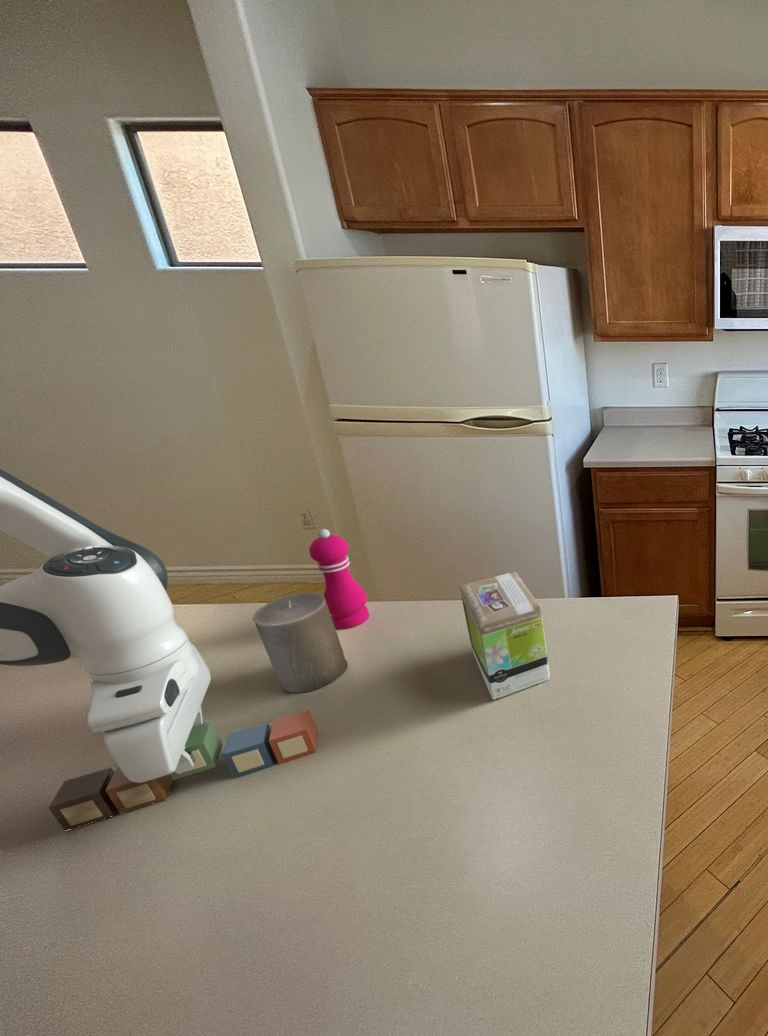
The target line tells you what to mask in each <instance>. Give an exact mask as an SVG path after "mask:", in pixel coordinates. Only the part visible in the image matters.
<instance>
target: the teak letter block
mask: <svg viewBox="0 0 768 1036" xmlns="http://www.w3.org/2000/svg"><path fill="white" fill-rule="evenodd" d="M174 781H175V780H173V779H172V777H171V775H170V774H168V775H165V776H162V777H159V778H156V779H152V780H149V781H146V782H142V783H137V782H132V781H130V780H129V779H128V778H127V777H126V776H125V775H124V773H123V772H122V771H121V769H120V768H119V767H118V766H116V769H115V771H114V774H113V776H112V778H111V780H110V782H109V784H108V786H107V788H106V790H105V791H106V792H107V794H108V795H109V797H110V798H111V800H112V802H113V803H114V805H115V806H116V808H117V811H118V813H119V814H120V815H123V814H122V813H124V812H127V811H130V812H132V811H131V810H133V811H136V810H139V809H138V808H140V809H142V808H141V807H143V808H145V807H144V806H146V807H148V806H147V805H149V806H151V805H150V804H152V803H155V804H158V803H161V802H163V801H162V800H164V801H166V800H167V799H166V797H167V798H168V796H169V794H168V792H169V793H170V791H169V790H171V789H170V788H172V786H173V783H174ZM167 795H168V796H167ZM165 799H166V800H165ZM160 801H161V802H160ZM157 802H158V803H157ZM152 805H153V804H152ZM135 809H136V810H135ZM127 813H128V812H127ZM124 814H125V813H124Z"/></svg>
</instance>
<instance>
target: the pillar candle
mask: <svg viewBox="0 0 768 1036" xmlns="http://www.w3.org/2000/svg"><path fill="white" fill-rule="evenodd" d="M323 596H324V595H323V594H320V593H318V592H311V591H310V592H297V593H294V594H289V595H285V596H282V597H280V598H277V599H274V600H272V601H270V602H268V603H266V604H264V605H263V606H260V607H259V608H258V609H257V610H255V612H254V614H253V618H252V621H253V623H254V625H255V627H256V630H257V632H258V634H259V637H260V639H261V642H262V644H263V646H264V649H265V651H266V654H267V656H268V659H269V661H270V664H271V667H272V669H273V672H274V673H275V675H276V678H277V680H278V683H279V686H280V688H282V689H283V690H285V691H286V692H289V693H292V694H297V693H298V694H300V693H307V692H313V691H316V690H318V689H321V688H323V687H325V686H328V685H329V684H331V683H332V682H335V681H336V680H337V679H338V678H340V677H341V676H342V675H343V674H344V673H345V672H346V670H347V668H348V661H347V659H346V657H345V654H344V650H343V647H342V644H341V642H340V638H339V636H338V633H337V630H336V629H337V628H335V626H334V624H333V620H332V617H331V614H330V611H329V608H328V606H327V603H326V600H325V598H324V597H323Z"/></svg>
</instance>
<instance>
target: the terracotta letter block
mask: <svg viewBox="0 0 768 1036" xmlns="http://www.w3.org/2000/svg"><path fill="white" fill-rule="evenodd" d="M270 728H271V733H270V737H269V743H270V745H271V747H272V750H273V752H274V754H275V759H276V761H277V763H278V764H282V763H285V762H289V761H293V760H296V759H298V758H301V757H305V756H307V755H311V754H314V753H316V752H317V745H318V738H319V737H318V736H319V731H318V728H317V725H316V723H315V720H314V718H313V715H312V712H311V709H308V710H304V711H301V712H298V713H294V714H291V715H288V716H284V717H280V718H277V719H274V720H272V724H271V727H270Z"/></svg>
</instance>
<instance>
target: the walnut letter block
mask: <svg viewBox="0 0 768 1036" xmlns="http://www.w3.org/2000/svg"><path fill="white" fill-rule="evenodd" d="M114 772H115V771H114V769H113V767H112V766H111V767H108V768H104V769H101V770H97V771H94V772H90V773H87V774H84V775H79V776H77V777H73V778H70V779H66V780H64V781H63V783H62V784H61V786H60V787H59V789H58V791H57V792H56V793H55V795H54V797H53V798H52V800H51V802H50V804H49V806H48V809H49V811H50V813H51V814H52V815H53V817H54V819H56V821H57V822H58V824H59V825H60V826H61V828H62V829H63V830H64V831H65V830H68V829H74V828H77V827H79V826H83V825H85V824H88V823H91V822H95V821H99V820H101V819H104V818H108V817H110V816H114V814H115V815H116V813H117V811H118V809H117V808H116V806H115V805H114V803H113V802H112V800H111V798H110V797H109V795H108V794H107V792H106V791H105V790H106V788H107V786H108V784H109V782H110V780H111V778H112V776H113V774H114ZM116 810H117V811H116ZM115 812H116V813H115ZM114 817H115V816H114ZM108 819H109V818H108ZM99 822H100V821H99ZM83 827H84V826H83ZM77 829H78V828H77ZM74 830H75V829H74Z"/></svg>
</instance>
